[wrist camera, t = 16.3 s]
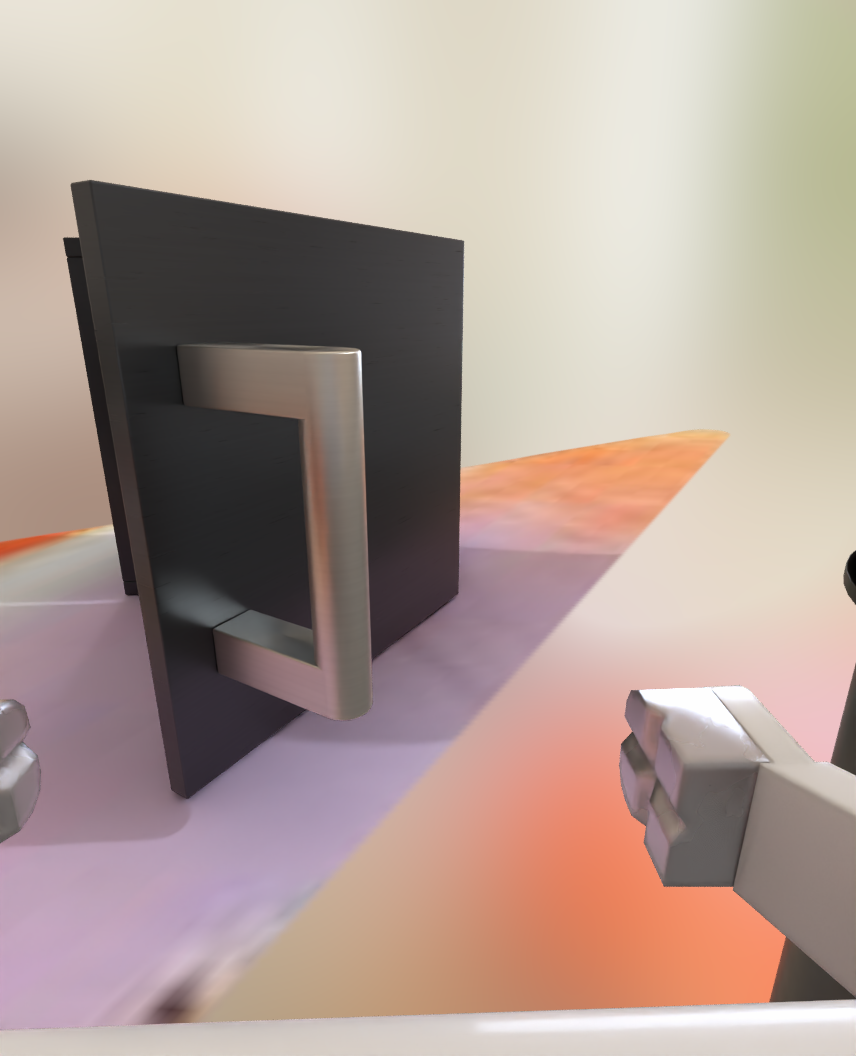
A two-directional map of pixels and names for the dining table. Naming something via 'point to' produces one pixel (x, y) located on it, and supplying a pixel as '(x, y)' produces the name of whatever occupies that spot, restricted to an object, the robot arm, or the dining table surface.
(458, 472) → the machine door
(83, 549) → the dining table surface
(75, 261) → the black box
